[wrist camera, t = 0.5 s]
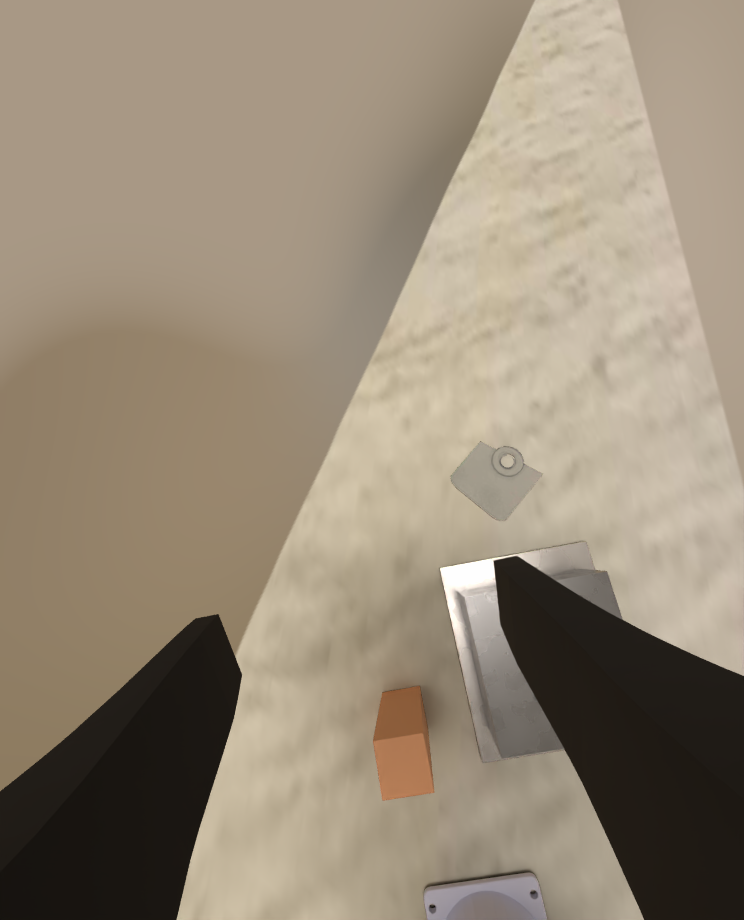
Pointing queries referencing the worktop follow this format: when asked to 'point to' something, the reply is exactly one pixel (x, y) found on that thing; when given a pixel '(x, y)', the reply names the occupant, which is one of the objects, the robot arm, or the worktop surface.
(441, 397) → the worktop surface
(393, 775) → the tan rectangular block
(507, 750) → the slotted block
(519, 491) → the mounting bracket
